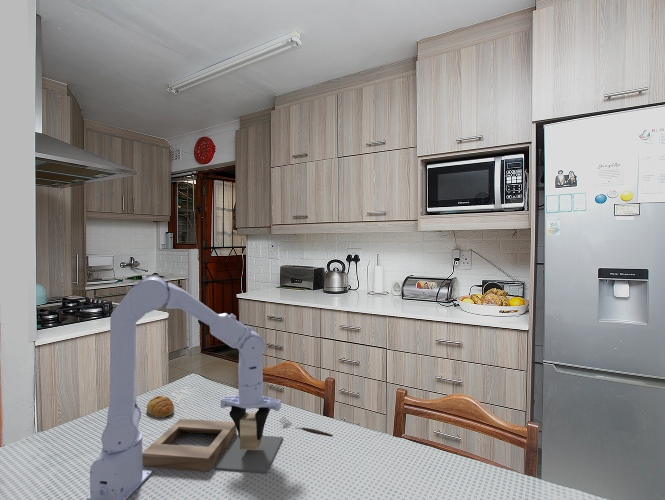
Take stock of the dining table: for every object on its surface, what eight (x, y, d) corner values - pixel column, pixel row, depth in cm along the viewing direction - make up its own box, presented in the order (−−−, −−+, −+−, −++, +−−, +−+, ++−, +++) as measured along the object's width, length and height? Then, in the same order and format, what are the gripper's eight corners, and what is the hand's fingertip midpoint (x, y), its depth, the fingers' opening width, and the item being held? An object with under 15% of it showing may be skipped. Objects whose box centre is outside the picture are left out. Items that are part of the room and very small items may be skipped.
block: (256, 450, 84) (256, 421, 84) (240, 449, 85) (239, 420, 85) (261, 440, 88) (261, 412, 88) (246, 439, 89) (246, 412, 89)
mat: (266, 473, 79) (266, 471, 79) (214, 469, 80) (214, 467, 80) (282, 438, 93) (282, 437, 93) (238, 435, 94) (238, 434, 94)
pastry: (180, 413, 107) (180, 400, 107) (157, 422, 102) (156, 409, 102) (166, 404, 113) (166, 392, 113) (143, 412, 108) (143, 399, 108)
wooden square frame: (208, 471, 79) (208, 458, 79) (142, 466, 81) (141, 453, 81) (236, 433, 95) (236, 422, 95) (180, 429, 97) (180, 418, 97)
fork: (330, 440, 93) (330, 432, 93) (278, 427, 99) (278, 419, 99) (334, 435, 95) (334, 427, 95) (283, 422, 102) (283, 415, 101)
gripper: (284, 376, 89) (284, 430, 89) (228, 374, 91) (229, 426, 91) (276, 388, 82) (276, 446, 82) (216, 385, 84) (217, 442, 84)
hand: (251, 437), depth 86 cm, fingers closed on block, 4 cm apart
